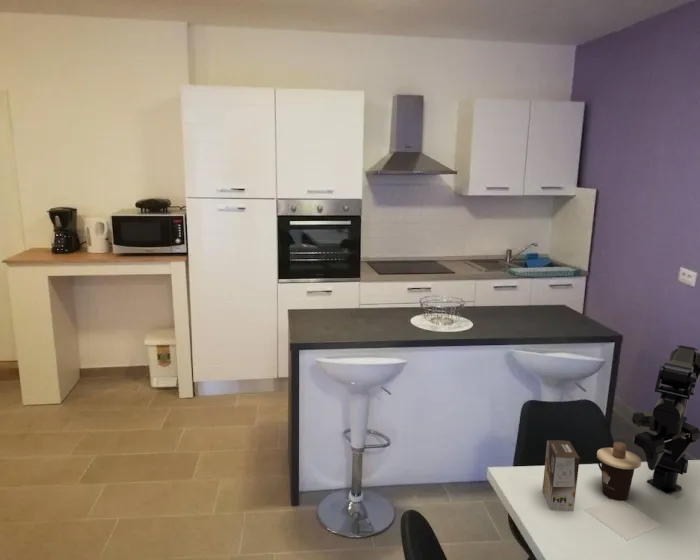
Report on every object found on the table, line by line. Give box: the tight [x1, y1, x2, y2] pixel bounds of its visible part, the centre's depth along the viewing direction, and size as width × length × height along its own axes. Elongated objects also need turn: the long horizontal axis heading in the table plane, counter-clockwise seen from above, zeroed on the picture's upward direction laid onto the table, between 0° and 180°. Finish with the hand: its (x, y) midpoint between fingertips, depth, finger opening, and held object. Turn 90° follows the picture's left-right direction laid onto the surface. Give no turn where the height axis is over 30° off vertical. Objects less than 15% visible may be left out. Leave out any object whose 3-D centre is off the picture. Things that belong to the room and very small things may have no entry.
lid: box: [596, 441, 642, 470], centre depth 150 cm, size 11×11×4 cm
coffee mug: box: [596, 457, 635, 502], centre depth 152 cm, size 12×9×10 cm
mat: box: [584, 499, 663, 541], centre depth 141 cm, size 13×13×1 cm
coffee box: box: [542, 439, 581, 512], centre depth 146 cm, size 9×6×16 cm
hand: (662, 465), depth 142 cm, fingers open, 9 cm apart
